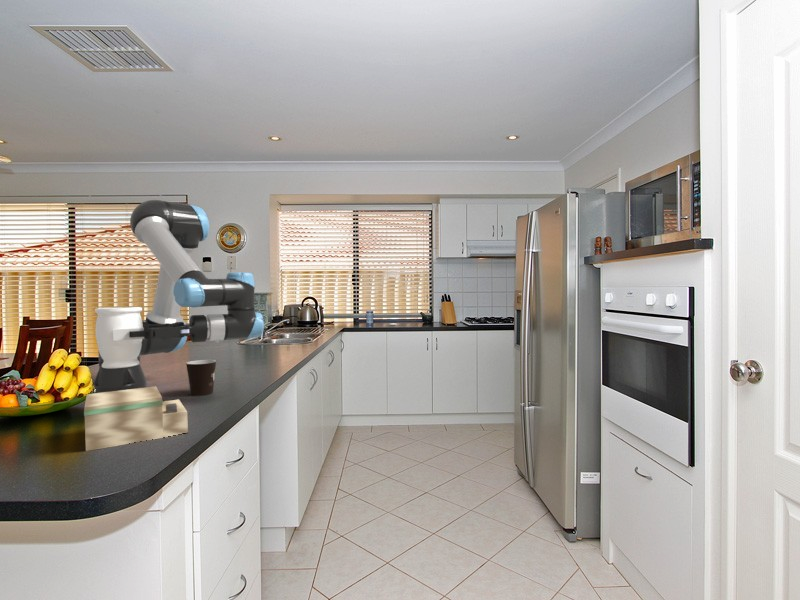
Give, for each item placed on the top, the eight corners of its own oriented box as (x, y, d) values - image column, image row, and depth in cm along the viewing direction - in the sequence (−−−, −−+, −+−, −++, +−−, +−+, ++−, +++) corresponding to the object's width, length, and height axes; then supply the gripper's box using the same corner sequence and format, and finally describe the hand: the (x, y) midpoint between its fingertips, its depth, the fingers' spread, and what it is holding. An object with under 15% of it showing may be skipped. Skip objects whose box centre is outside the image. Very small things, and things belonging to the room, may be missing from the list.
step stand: (179, 418, 114) (178, 383, 113) (187, 433, 102) (186, 394, 101) (87, 433, 103) (86, 394, 103) (85, 451, 91) (83, 407, 91)
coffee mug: (205, 397, 136) (204, 364, 136) (180, 396, 138) (180, 363, 138) (227, 388, 148) (227, 358, 148) (204, 388, 150) (203, 358, 149)
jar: (100, 364, 117) (98, 307, 117) (146, 361, 122) (144, 306, 121) (92, 371, 108) (90, 308, 107) (142, 367, 112) (140, 307, 112)
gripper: (214, 345, 116) (114, 353, 104) (199, 337, 135) (112, 343, 123) (214, 316, 116) (113, 320, 104) (198, 313, 135) (111, 316, 123)
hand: (112, 333), depth 114 cm, fingers closed on jar, 10 cm apart
